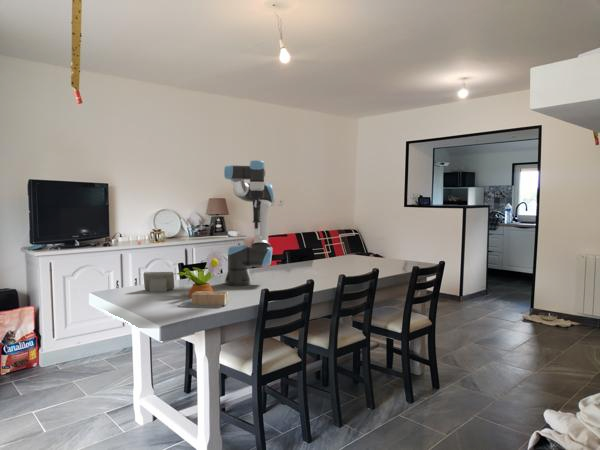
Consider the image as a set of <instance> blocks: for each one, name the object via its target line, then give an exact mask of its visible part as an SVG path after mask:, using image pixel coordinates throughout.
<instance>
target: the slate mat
mask: <svg viewBox="0 0 600 450" xmlns="http://www.w3.org/2000/svg"><path fill="white" fill-rule="evenodd" d="M223 306H224V305H192V299H185V300H184V301H183V302H181V303H180V304H179V305H178V306H177V308H200V307H203V308H207V309H208V308H210V309H211V308H213V309H217V308H218V309H221V308H222V307H223Z"/></svg>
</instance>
